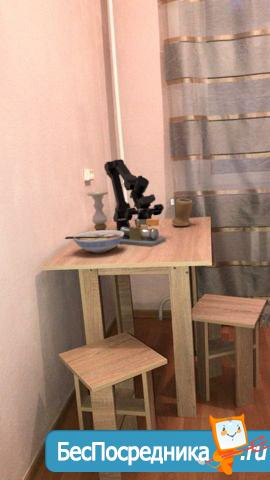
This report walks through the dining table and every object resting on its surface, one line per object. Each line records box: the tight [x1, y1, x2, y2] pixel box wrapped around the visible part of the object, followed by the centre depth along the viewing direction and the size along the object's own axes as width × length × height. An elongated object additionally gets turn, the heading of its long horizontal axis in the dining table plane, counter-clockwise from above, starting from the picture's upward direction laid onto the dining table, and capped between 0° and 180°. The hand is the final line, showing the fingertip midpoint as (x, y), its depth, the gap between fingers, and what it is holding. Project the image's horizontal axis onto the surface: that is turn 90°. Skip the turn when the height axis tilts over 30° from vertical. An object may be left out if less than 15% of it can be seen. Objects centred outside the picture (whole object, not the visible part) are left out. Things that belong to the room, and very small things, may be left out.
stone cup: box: [171, 197, 194, 227], centre depth 236 cm, size 15×12×15 cm
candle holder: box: [86, 190, 109, 231], centre depth 209 cm, size 11×11×24 cm
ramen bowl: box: [64, 229, 124, 254], centre depth 188 cm, size 25×23×8 cm
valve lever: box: [134, 218, 160, 227], centre depth 197 cm, size 12×3×3 cm, turn 60°
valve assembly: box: [118, 225, 167, 247], centre depth 200 cm, size 22×12×8 cm, turn 55°
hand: (150, 226), depth 198 cm, fingers closed
